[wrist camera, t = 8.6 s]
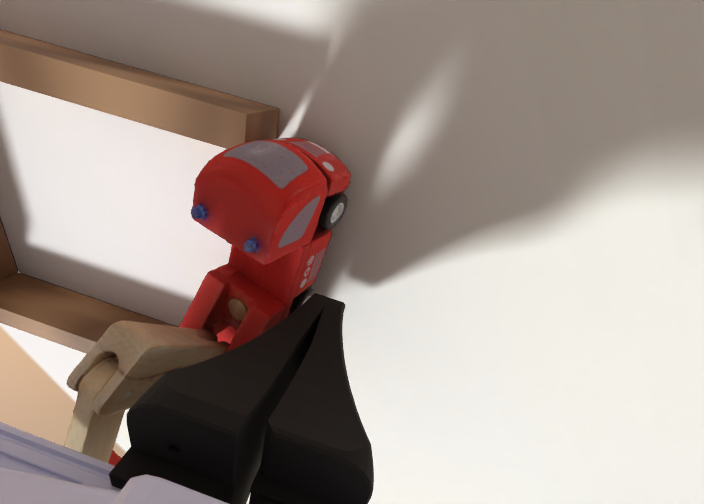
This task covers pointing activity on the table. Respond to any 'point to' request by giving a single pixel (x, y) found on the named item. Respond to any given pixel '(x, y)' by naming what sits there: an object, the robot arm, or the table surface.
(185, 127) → the bay
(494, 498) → the table surface
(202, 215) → the toy fire truck
